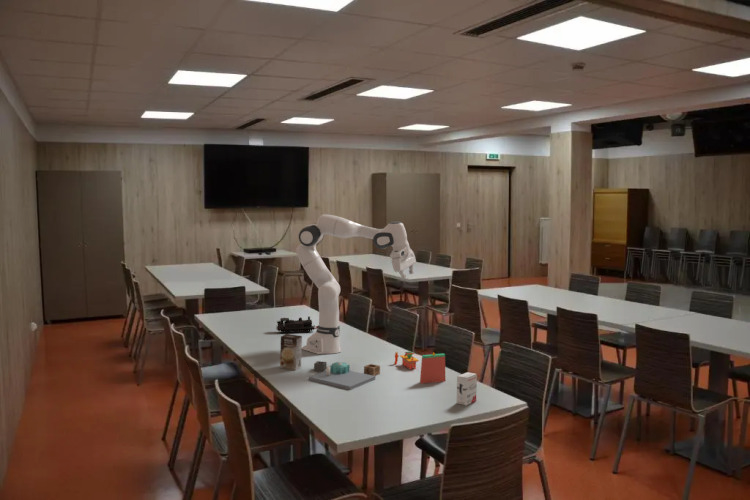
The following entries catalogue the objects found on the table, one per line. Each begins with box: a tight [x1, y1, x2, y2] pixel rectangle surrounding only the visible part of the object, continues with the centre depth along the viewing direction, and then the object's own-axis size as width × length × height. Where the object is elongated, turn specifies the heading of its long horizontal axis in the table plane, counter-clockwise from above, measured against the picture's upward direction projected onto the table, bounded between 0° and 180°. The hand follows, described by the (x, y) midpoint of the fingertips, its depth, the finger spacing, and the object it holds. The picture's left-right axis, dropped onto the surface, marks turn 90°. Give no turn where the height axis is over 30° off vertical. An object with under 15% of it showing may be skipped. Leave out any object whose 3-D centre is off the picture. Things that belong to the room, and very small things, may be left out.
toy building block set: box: [394, 351, 447, 384], centre depth 290 cm, size 12×35×14 cm, turn 22°
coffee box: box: [279, 333, 303, 371], centre depth 292 cm, size 9×6×16 cm
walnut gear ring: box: [363, 363, 381, 377], centre depth 285 cm, size 6×7×4 cm
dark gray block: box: [313, 360, 328, 373], centre depth 290 cm, size 5×5×4 cm
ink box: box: [456, 372, 478, 406], centre depth 247 cm, size 8×5×12 cm, turn 140°
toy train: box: [275, 316, 316, 335], centre depth 372 cm, size 8×25×10 cm, turn 106°
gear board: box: [308, 361, 376, 391], centre depth 275 cm, size 24×20×6 cm
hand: (407, 275), depth 315 cm, fingers open, 8 cm apart
